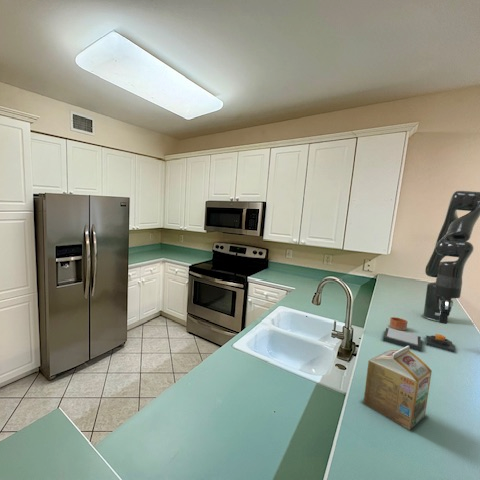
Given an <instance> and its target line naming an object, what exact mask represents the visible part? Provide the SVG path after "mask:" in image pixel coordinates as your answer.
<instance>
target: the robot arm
mask: <svg viewBox="0 0 480 480" xmlns="http://www.w3.org/2000/svg"><path fill="white" fill-rule="evenodd" d="M458 211H462V212H463V211H464V212H468V213H466V214H464V215H462V216H460V217H459V215H458ZM479 219H480V191H471V190H469V191H468V190H456V191H454V192H453V194H452V195H451V197H450V200H449V203H448V206H447V211H446V214H445V217H444V221H443V223H442V225H441V228H440V230H439V233H438V236H437V239H436V242H435V245H434V248H433V251H432V252H431V255H430V256H429V259H428V261H427V263H426V265H425V269H424V272H425V273H424V274H425V275H426V276H427V277H429V278H436V279H435V281H434V282H433V281H432V282H429V283H427V286H426V292H425V300H424V306H423V314H422V317H423V318H425V319H426V320H430V321H434V322H436V323H437V322H438V323H439V324H442V325H447V323H448V319H449V318H448V317H449V316H450V313H451V312H452V308H453V305H454V301H453V300H452V299H460V298H461V294H462V288H463V276H464V268H465V266H466V263H467V262H468V260H469V258H470V257H471V255H472V254H473V252H474V250H475V249H474V248H475V247H474V244H473V243H472V242H469V240H470V239H471V237H472V233H473V230H474V227H475V225H476V223H477V221H478V220H479ZM445 257H450V258H451V257H453V258H457V259H456V260H453V261H452V260H451V261H449V260H448V261H442V260H443V259H444V258H445Z"/></svg>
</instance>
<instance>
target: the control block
mask: <svg viewBox="0 0 480 480" xmlns="http://www.w3.org/2000/svg"><path fill="white" fill-rule="evenodd" d="M425 340H426V341H425V343H426V346H428V347H431V348H435V349H439V350H443V351H446V352H449V353H450V352H451V353H455V347H454V344H453V341H451V340H449V339H448V338H445V341H442V340H438V339H436V338H435V335H426V336H425Z"/></svg>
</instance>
